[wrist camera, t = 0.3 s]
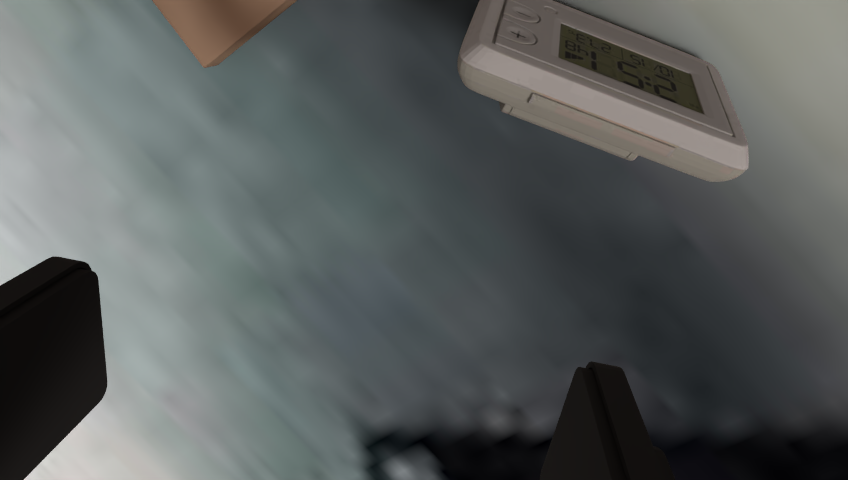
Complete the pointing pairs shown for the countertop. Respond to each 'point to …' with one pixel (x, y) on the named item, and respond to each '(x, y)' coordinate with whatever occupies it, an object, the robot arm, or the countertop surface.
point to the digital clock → (603, 86)
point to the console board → (219, 23)
